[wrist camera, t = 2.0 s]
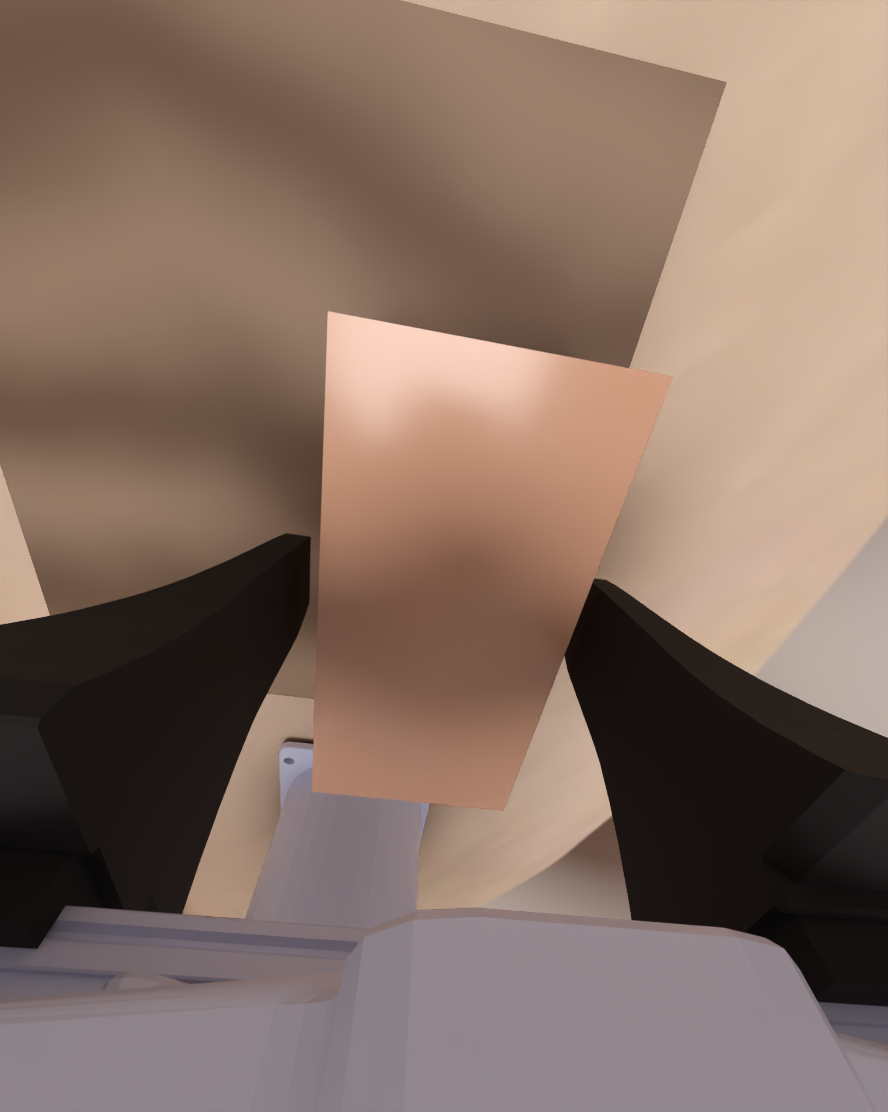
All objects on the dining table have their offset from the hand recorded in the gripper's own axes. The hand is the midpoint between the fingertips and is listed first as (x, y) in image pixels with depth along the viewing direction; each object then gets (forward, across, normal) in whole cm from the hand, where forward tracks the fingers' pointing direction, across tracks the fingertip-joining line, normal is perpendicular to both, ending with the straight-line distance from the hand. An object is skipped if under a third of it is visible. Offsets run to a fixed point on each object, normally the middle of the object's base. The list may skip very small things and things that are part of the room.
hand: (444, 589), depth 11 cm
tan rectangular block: (+4, 0, 0) cm, 4 cm away
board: (+5, +5, -1) cm, 7 cm away
